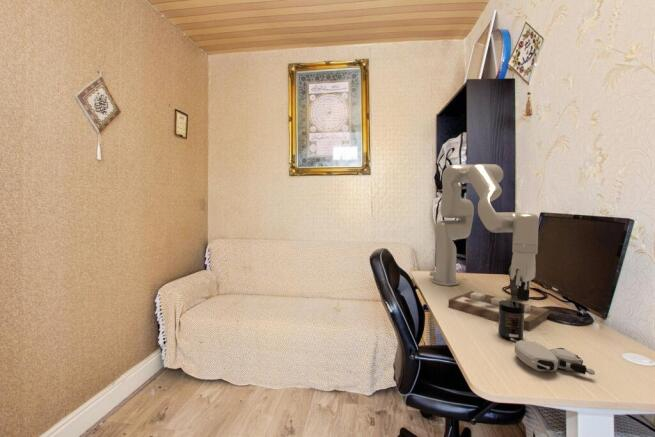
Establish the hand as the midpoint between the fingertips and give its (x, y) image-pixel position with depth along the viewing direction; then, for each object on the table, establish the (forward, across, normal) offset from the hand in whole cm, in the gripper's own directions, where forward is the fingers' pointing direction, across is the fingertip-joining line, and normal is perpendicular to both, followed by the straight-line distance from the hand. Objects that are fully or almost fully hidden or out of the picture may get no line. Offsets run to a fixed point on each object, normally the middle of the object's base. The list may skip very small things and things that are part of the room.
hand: (523, 299), depth 109 cm
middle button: (+4, 0, -8) cm, 9 cm away
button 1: (+4, 0, -16) cm, 17 cm away
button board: (+6, +2, -8) cm, 11 cm away
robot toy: (+7, +30, +17) cm, 35 cm away
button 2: (+4, 0, 0) cm, 5 cm away
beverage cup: (+7, -20, -9) cm, 23 cm away
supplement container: (+7, +20, +4) cm, 21 cm away
